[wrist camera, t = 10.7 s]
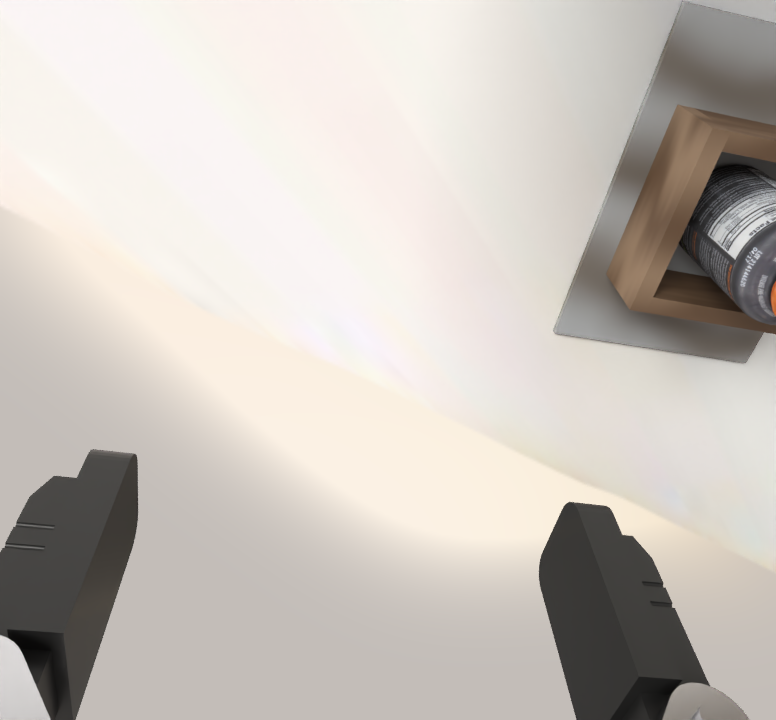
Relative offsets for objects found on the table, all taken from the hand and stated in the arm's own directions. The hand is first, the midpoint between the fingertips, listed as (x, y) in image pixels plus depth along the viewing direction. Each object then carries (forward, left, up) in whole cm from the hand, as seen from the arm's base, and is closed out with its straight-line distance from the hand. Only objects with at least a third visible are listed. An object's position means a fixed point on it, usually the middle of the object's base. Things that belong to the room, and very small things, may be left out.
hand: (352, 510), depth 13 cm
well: (+2, +23, -30) cm, 37 cm away
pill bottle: (+2, +23, -30) cm, 37 cm away
